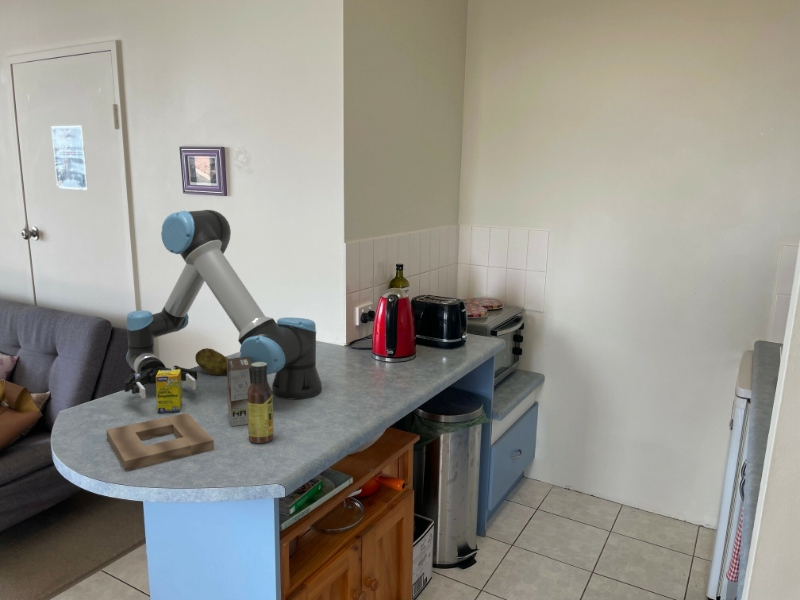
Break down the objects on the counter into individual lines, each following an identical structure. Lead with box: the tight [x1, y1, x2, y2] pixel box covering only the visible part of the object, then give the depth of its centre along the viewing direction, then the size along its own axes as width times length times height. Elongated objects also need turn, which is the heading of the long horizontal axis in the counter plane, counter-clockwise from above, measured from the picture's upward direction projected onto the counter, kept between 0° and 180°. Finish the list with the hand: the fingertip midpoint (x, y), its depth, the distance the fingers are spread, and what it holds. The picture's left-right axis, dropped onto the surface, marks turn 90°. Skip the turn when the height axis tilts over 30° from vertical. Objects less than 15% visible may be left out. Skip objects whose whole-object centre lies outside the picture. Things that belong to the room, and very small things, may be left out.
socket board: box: [106, 412, 215, 472], centre depth 147 cm, size 20×20×2 cm
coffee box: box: [226, 356, 252, 427], centre depth 162 cm, size 9×6×16 cm
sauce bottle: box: [247, 362, 274, 444], centre depth 150 cm, size 7×6×20 cm
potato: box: [195, 347, 229, 376], centre depth 199 cm, size 8×13×8 cm, turn 58°
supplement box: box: [155, 369, 183, 414], centre depth 168 cm, size 6×6×11 cm
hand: (169, 389), depth 166 cm, fingers open, 13 cm apart
